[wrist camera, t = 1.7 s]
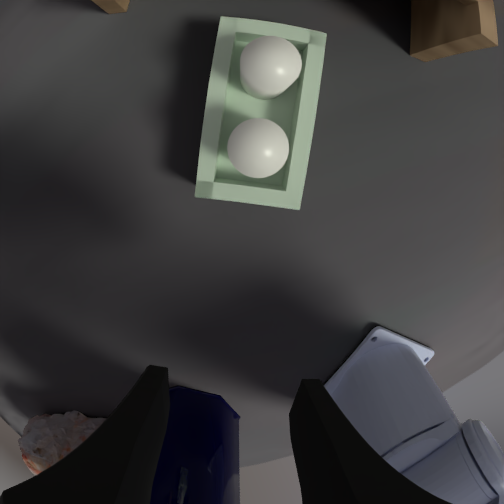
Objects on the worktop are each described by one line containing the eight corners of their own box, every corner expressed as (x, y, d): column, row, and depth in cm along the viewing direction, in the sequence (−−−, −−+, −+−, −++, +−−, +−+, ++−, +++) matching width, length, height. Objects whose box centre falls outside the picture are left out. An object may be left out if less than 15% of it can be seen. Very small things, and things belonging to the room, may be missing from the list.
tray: (291, 199, 17) (308, 221, 12) (201, 187, 16) (187, 207, 12) (314, 46, 13) (339, 20, 9) (223, 32, 13) (218, -1, 9)
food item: (69, 442, 27) (49, 500, 18) (31, 403, 24) (0, 463, 15) (155, 446, 26) (141, 522, 17) (115, 403, 23) (87, 490, 14)
